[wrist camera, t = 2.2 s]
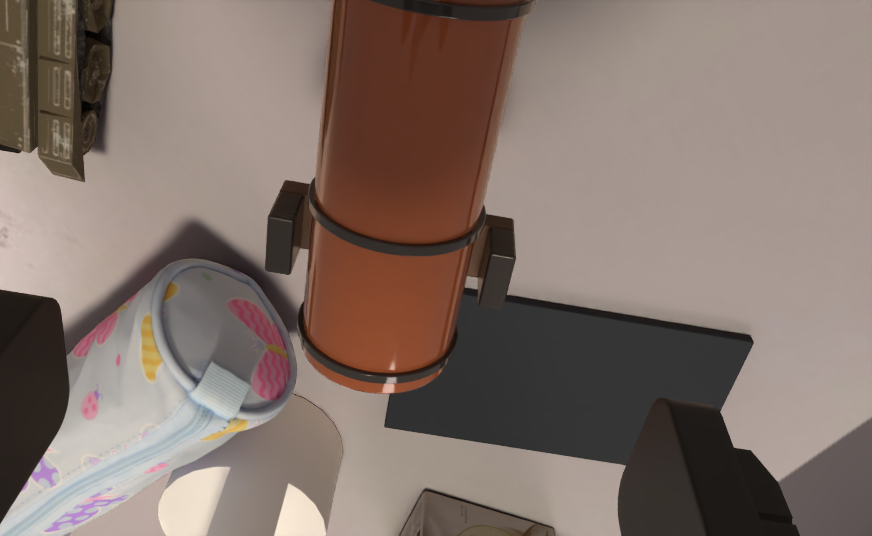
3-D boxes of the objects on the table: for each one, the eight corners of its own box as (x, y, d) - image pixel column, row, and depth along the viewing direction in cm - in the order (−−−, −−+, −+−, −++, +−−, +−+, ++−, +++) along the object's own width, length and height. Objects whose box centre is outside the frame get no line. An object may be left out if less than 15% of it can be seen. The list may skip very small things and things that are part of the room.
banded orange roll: (580, -250, 18) (608, -254, 14) (455, 310, 27) (450, 410, 22) (367, -292, 18) (332, -309, 14) (311, 286, 26) (279, 383, 22)
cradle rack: (572, -207, 29) (632, -185, 17) (494, 145, 36) (499, 324, 25) (370, -247, 28) (293, -252, 17) (333, 117, 36) (263, 285, 24)
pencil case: (89, 497, 49) (-5, 627, 41) (-21, 403, 47) (-145, 521, 38) (332, 336, 42) (277, 455, 33) (215, 212, 39) (125, 307, 31)
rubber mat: (751, 335, 41) (754, 342, 41) (686, 467, 47) (689, 475, 46) (410, 279, 40) (409, 285, 40) (385, 420, 46) (384, 427, 45)
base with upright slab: (208, 368, 44) (127, 547, 34) (361, 413, 45) (326, 599, 35) (180, 472, 49) (102, 657, 39) (320, 510, 50) (279, 699, 40)
